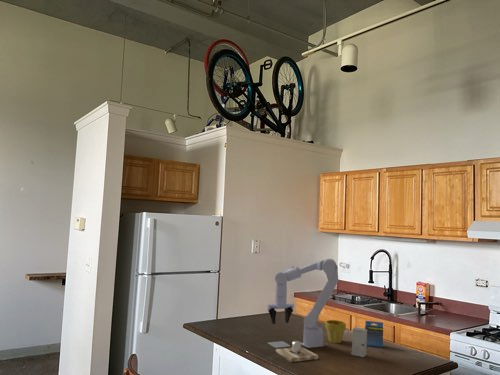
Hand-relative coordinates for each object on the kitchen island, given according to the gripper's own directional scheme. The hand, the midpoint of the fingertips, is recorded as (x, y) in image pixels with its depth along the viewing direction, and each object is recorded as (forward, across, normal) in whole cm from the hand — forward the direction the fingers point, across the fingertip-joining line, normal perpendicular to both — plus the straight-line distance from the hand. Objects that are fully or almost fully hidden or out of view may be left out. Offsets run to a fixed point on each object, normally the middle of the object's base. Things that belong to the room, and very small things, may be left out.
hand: (280, 323), depth 212 cm
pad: (+9, +3, +5) cm, 11 cm away
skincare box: (+10, -26, +30) cm, 41 cm away
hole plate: (+9, +3, +22) cm, 24 cm away
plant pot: (+10, -29, +7) cm, 31 cm away
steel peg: (+9, +3, +22) cm, 24 cm away
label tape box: (+10, -44, +19) cm, 49 cm away
